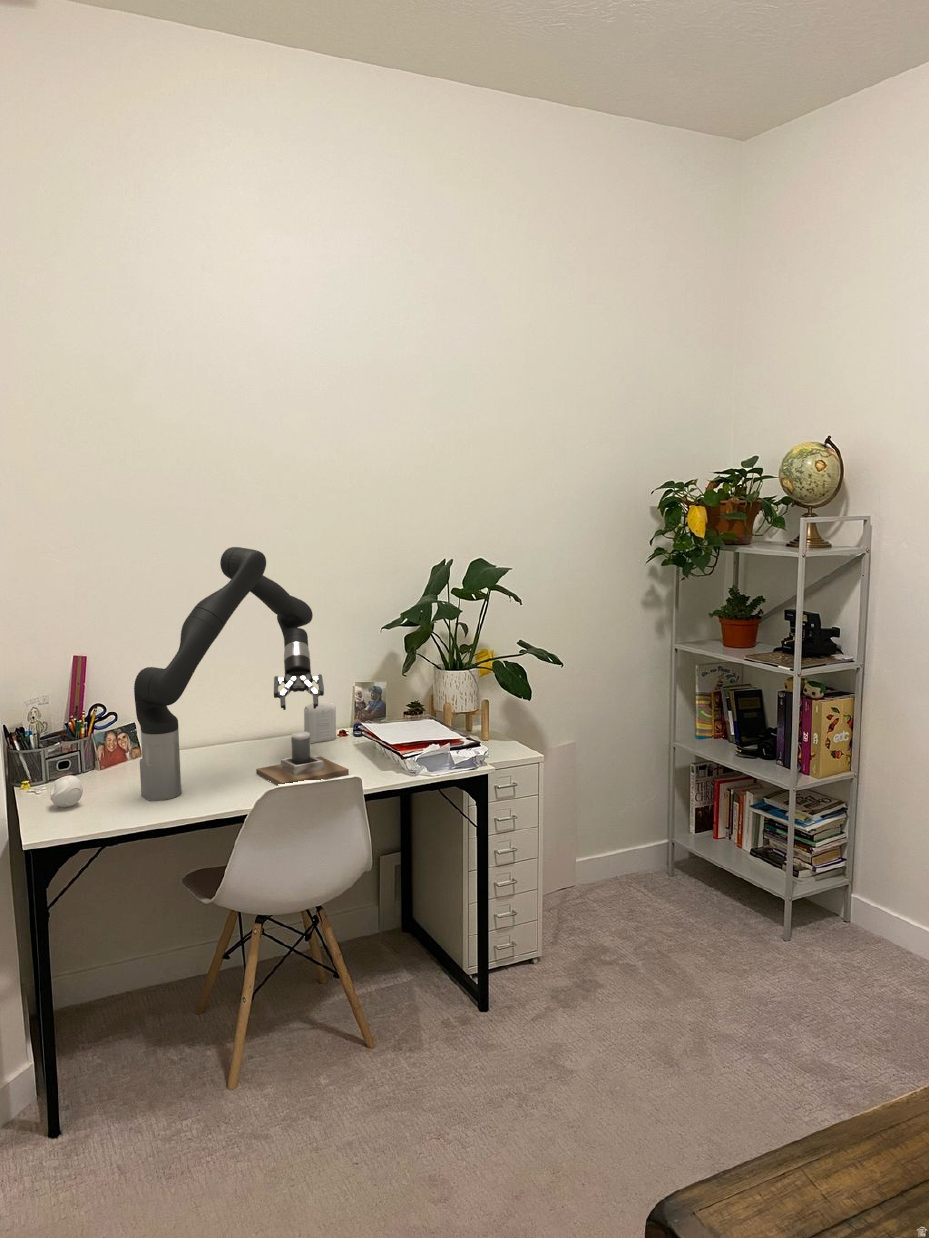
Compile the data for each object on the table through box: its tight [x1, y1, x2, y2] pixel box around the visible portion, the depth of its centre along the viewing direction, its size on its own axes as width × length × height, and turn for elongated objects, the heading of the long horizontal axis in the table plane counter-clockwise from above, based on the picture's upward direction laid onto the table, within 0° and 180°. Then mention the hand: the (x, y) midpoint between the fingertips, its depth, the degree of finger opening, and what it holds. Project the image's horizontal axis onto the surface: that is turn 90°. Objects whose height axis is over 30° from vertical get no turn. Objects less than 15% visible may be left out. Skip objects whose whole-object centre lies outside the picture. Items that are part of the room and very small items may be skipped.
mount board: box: [255, 754, 350, 786], centre depth 264 cm, size 20×16×4 cm
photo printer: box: [303, 701, 337, 744], centre depth 298 cm, size 10×4×12 cm, turn 123°
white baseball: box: [49, 775, 84, 808], centre depth 238 cm, size 8×8×8 cm
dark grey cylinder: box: [290, 730, 311, 765], centre depth 264 cm, size 5×5×10 cm
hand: (299, 707), depth 272 cm, fingers open, 8 cm apart
